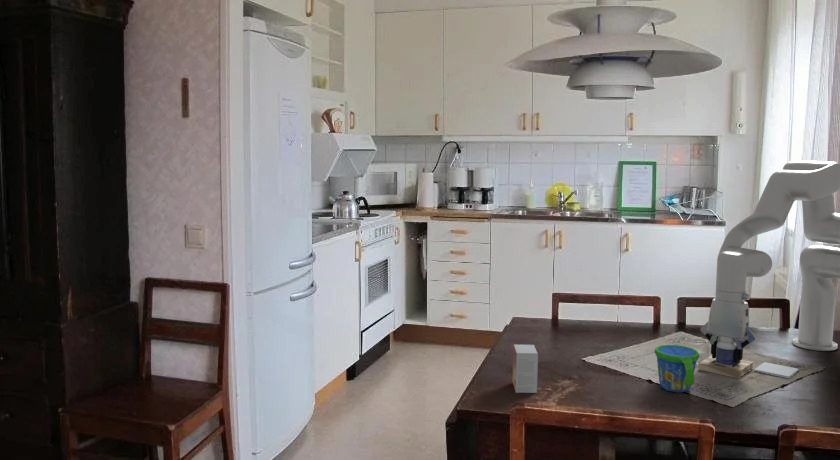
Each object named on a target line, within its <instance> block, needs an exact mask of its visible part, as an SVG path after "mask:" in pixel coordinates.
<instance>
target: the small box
mask: <svg viewBox="0 0 840 460" xmlns="http://www.w3.org/2000/svg"><path fill="white" fill-rule="evenodd" d="M538 369H539V353H538V351H537V349H536V346H535V344H516V343H515V344H513V346H512V378H511V379H512V384H513V388H514V392H515V393H516V394H521V393H522V394H523V393H524V394H537V393H538V371H539V370H538Z"/></svg>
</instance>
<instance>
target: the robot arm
mask: <svg viewBox="0 0 840 460" xmlns="http://www.w3.org/2000/svg"><path fill="white" fill-rule="evenodd" d="M839 190H840V162H839V161H831V160H829V161H826V160H825V161H824V160H823V161H822V160H803V159H802V160H799V159H798V160H791V161H788V162H786V163H785V164H784V165H783V168H782V169H781V170H777V171H774V172H773V173H772V174H771V175H770V177H769V178H768V179H767V182H766V185H765V187H764V189H763V191H762V194H761V196H760V198H759V200H758V202H757V205H756V207H755V209H754V211H753V213H751V215H749V216H747V217H745V218H744V219H743V220H741V221H740V222H739V223H738V224H736V225H735V226H733V228H731V229H730V230H729V232H727V235H726V237H724V240H723V243H722V244H721V247H720V249H719V250H718V251H719V252H718V255H717V258H716V259H717V260H716V277H715V279H716V280H715V293H714V294H715V295H714V298H713V299H712V302H711V305H710V309H709V315H708V321H706V323H705V324H704V325H703V326H702V327H700V330H699V331H700V332H701V334H703V335H704V336H705V338H706V339H707V340H708V341H709V344H710V345H711V346H710V355H712V358H716V349H717V343H718V342H719V341H718V340H720V336H724V337H730V338H735V342H734V343H735V344H736V345H737V348H736V349H735V357H734V362H735V363H738V362H740V361H741V360H743V356H744V348H745V347H746V346H748V345H749V344H751V343H752V342H754V341H756V340H757V336H756V334H755V333H754V332H753V330H752V329H751V328H750V327H751V326H750V308H749V304H748V302H747V301H748V300H750V299H751V294H748V293H747V290H746V282H747V280H746V279H747V278H750V277H751V278H762V277H764V276H766V275H767V274H769V273H770V271H771V269H772V268H773V260H772V258H771V256H770V255H769V254H768V253H767V252H765V251H762V250H759V249H758V250H757V249H751V248H746V247H745V248H744V247H743V245H744V244H745V243H746V242H748V241H749V240H750V239H752V238H753V237H756V236H758V235H762V234H766V233H768V232H771V231H774V230H777V229H780V228H781V227H782V226H784V224H785V223H786V221H787V218H788V215H789V213H790V212H791V209H792V208H793V205H794V202H796V201H801V207H802V223H803V234H804V237H805V238H806V240H808V241H810V242H814V243H819V244H812V245H809V246H808V245H807V247H805V248H803V249H802V251H801V253H800V255H799V266H800V268H799V269H800V273H801V277H800V278H801V291H800V303H799V304H800V305H799V316H798V317H799V319H798V331H797V336H796V337H793V338H792V339H791V343H792V344H793V345H794V346H796V347H799V348H801V349H806V350H811V351H818V352H819V351H820V352H830V351H831V352H832V351H835V350H837V349H838V346H839V344H838V343H837V342H835V341H833V340H834V339H833V338H834V327H835V326H834V323H835V313H836V312H835V311H836V302H837V301H836V300H837V290H836V286H835V285H834V282H833V280H840V212H836V209H835V199H834V195H833V194H834V193H836V192H838V191H839ZM821 244H823V245H821ZM824 244H825V245H824ZM830 245H835V246H830ZM836 246H839V247H836ZM832 279H833V280H832ZM746 300H747V301H746ZM745 337H748V338H747V339H745V340H744V338H745Z"/></svg>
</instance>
